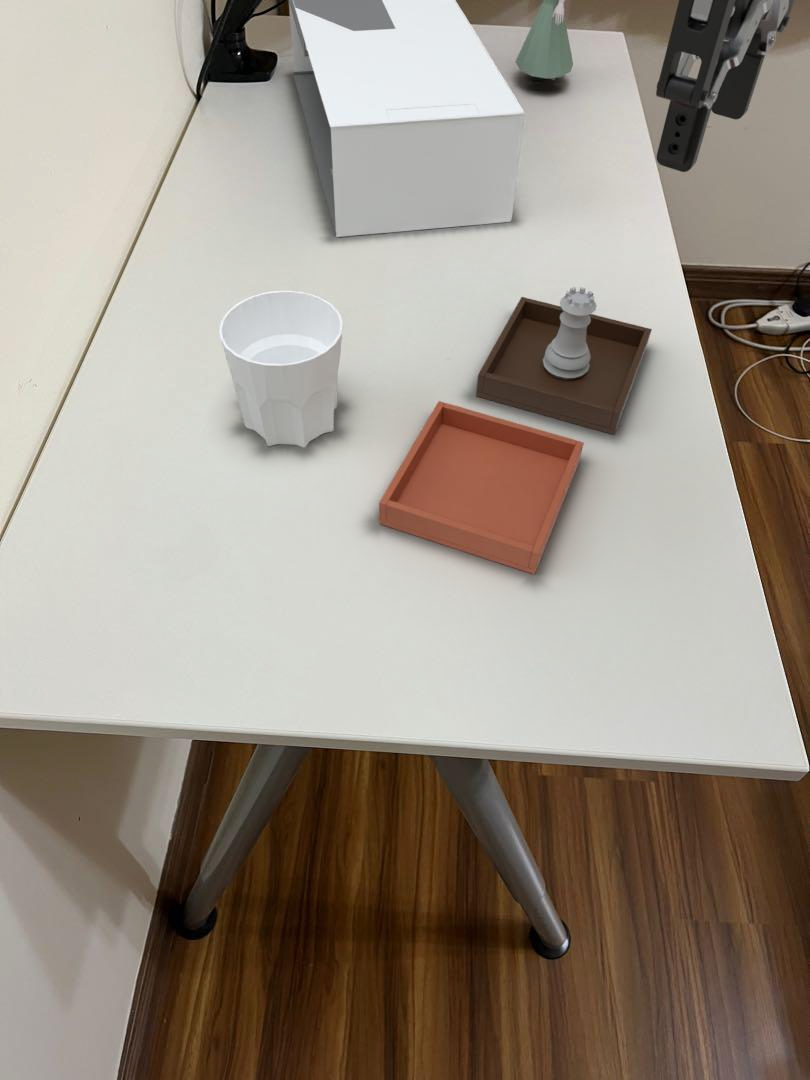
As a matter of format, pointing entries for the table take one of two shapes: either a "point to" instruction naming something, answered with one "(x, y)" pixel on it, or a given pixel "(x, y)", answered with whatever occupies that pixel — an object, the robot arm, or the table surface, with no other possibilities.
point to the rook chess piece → (571, 337)
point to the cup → (284, 364)
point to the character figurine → (547, 46)
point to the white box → (404, 115)
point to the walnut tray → (531, 387)
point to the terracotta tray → (482, 486)
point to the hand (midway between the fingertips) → (701, 139)
